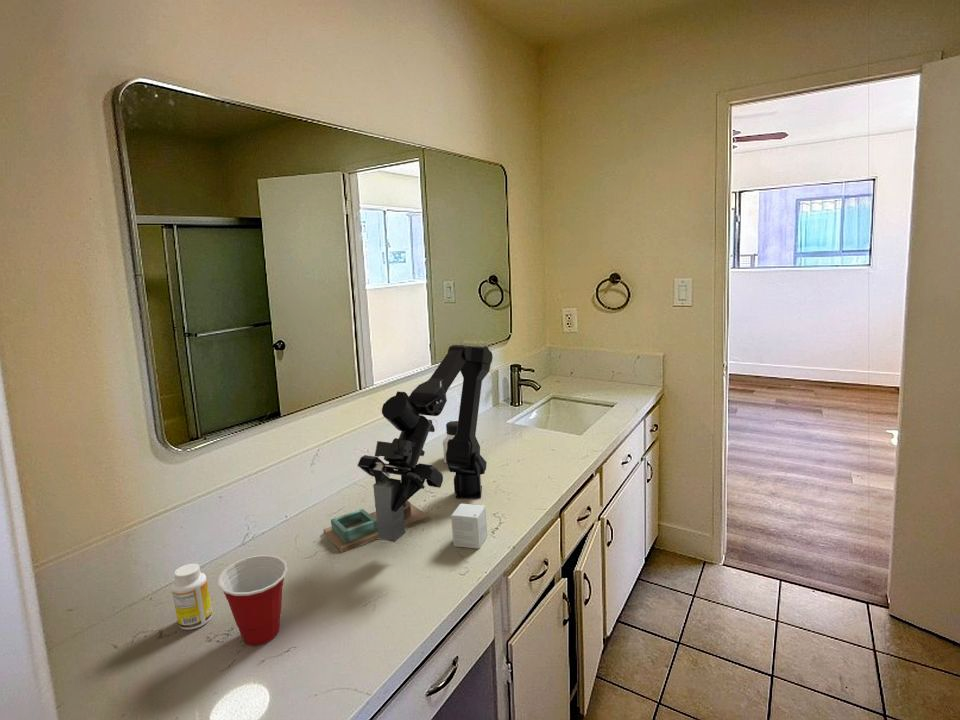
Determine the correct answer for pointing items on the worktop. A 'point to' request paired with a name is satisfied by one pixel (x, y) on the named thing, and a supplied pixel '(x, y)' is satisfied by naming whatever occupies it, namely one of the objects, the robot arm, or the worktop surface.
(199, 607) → the supplement bottle
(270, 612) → the plastic cup
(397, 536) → the square bit
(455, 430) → the medicine bottle
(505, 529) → the worktop surface
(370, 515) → the bit holder
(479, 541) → the product box
